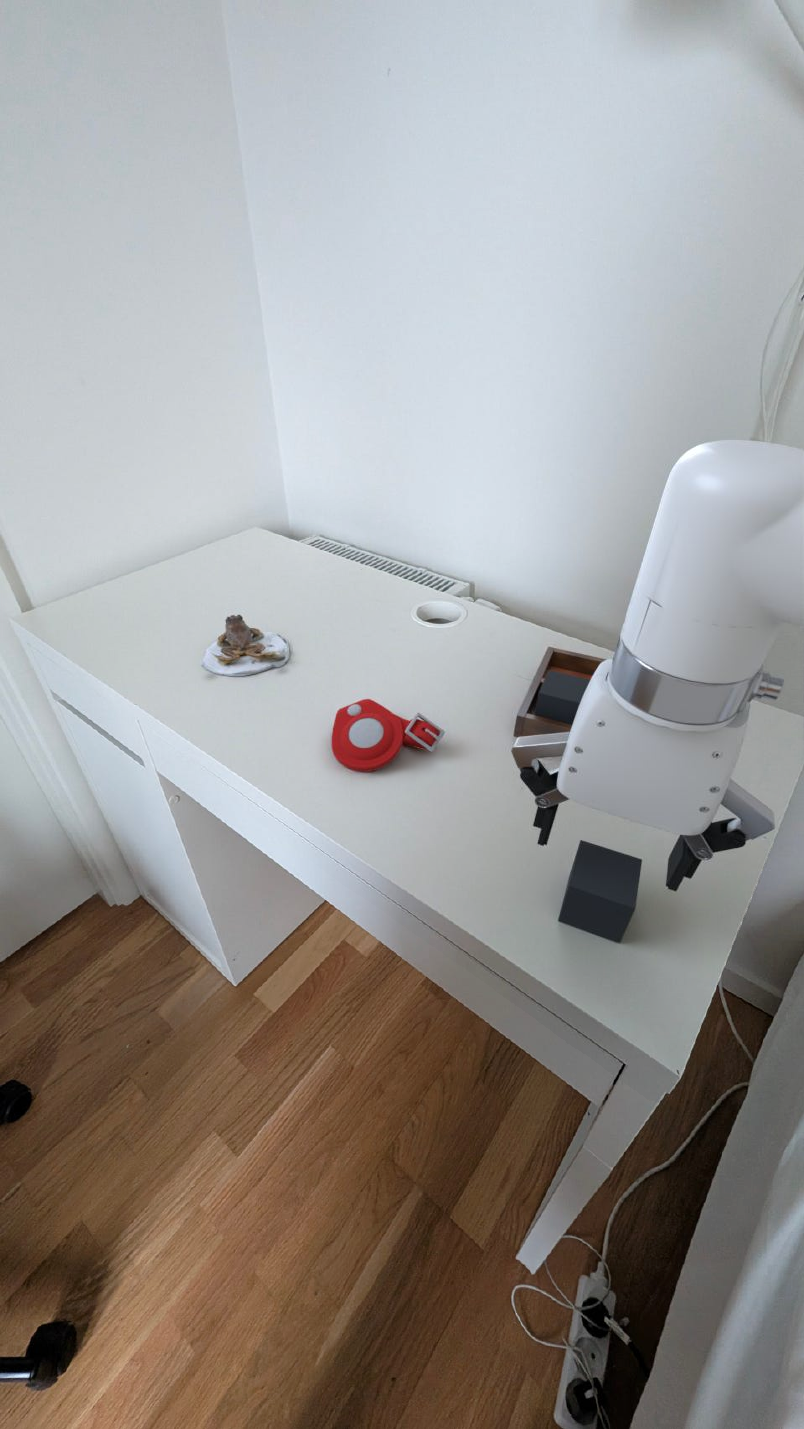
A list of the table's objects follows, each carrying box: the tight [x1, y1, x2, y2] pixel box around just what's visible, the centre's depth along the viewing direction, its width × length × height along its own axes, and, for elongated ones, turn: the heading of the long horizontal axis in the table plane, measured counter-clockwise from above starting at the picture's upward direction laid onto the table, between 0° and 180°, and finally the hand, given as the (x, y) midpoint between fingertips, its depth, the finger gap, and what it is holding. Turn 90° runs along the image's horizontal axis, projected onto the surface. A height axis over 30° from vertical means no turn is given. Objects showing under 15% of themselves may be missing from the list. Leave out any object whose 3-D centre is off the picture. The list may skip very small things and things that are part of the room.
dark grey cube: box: [535, 670, 590, 725], centre depth 67 cm, size 5×5×5 cm
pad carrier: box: [513, 646, 607, 738], centre depth 70 cm, size 8×16×3 cm, turn 156°
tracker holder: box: [331, 698, 446, 772], centre depth 65 cm, size 12×4×10 cm
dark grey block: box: [557, 839, 643, 944], centre depth 48 cm, size 5×5×5 cm
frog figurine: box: [201, 614, 291, 677], centre depth 79 cm, size 12×12×4 cm
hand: (606, 853), depth 45 cm, fingers open, 9 cm apart
